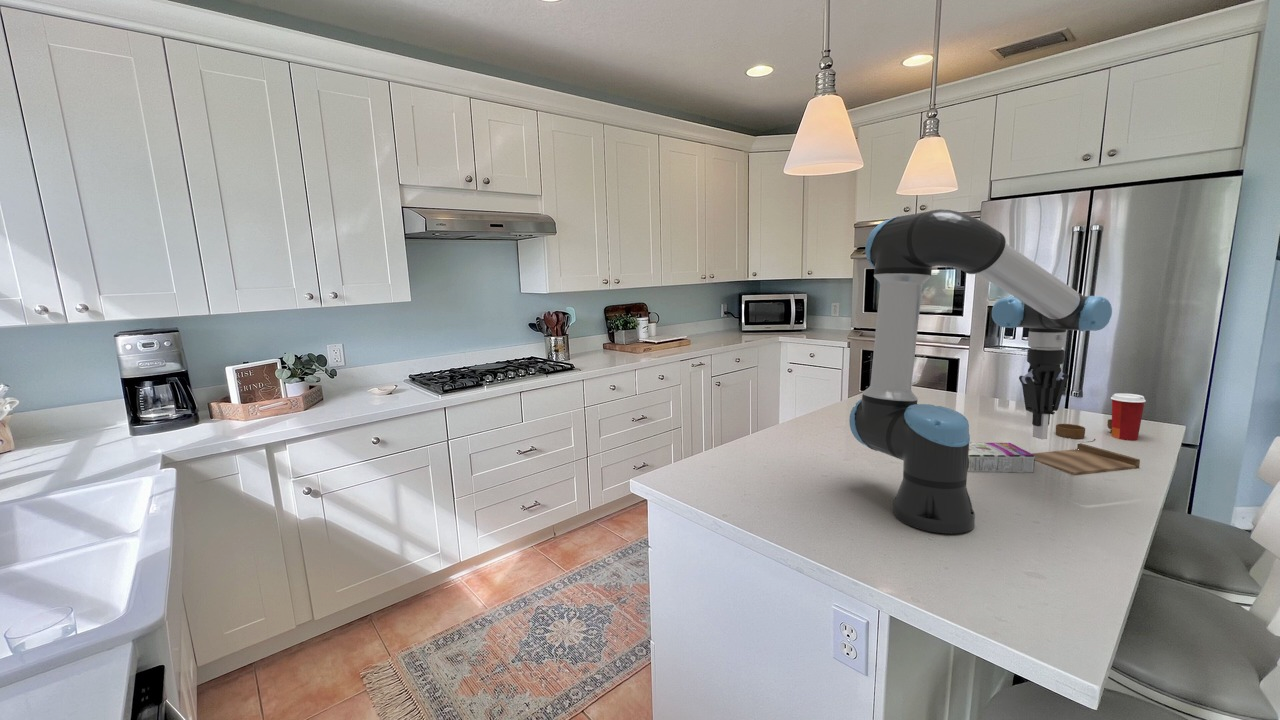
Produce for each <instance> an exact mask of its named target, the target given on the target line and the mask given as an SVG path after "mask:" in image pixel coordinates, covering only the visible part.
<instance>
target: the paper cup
mask: <svg viewBox="0 0 1280 720" xmlns="http://www.w3.org/2000/svg"><path fill="white" fill-rule="evenodd" d="M1110 399H1111V419H1112V429H1111V430H1112V433H1111V437H1113V438H1114V439H1117V440H1123V441H1130V442H1135V441H1138V440H1139V434H1140V429H1141V423H1142V420H1143V419H1142V418H1143V413H1144V405H1145V402H1147V400H1146V399H1145V396H1144V395H1141V394H1137V393H1136V394H1134V393H1125V392H1124V393H1123V392H1121V393H1120V392H1119V393H1118V392H1117V393H1114V394H1112V395H1111V397H1110Z"/></svg>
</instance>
